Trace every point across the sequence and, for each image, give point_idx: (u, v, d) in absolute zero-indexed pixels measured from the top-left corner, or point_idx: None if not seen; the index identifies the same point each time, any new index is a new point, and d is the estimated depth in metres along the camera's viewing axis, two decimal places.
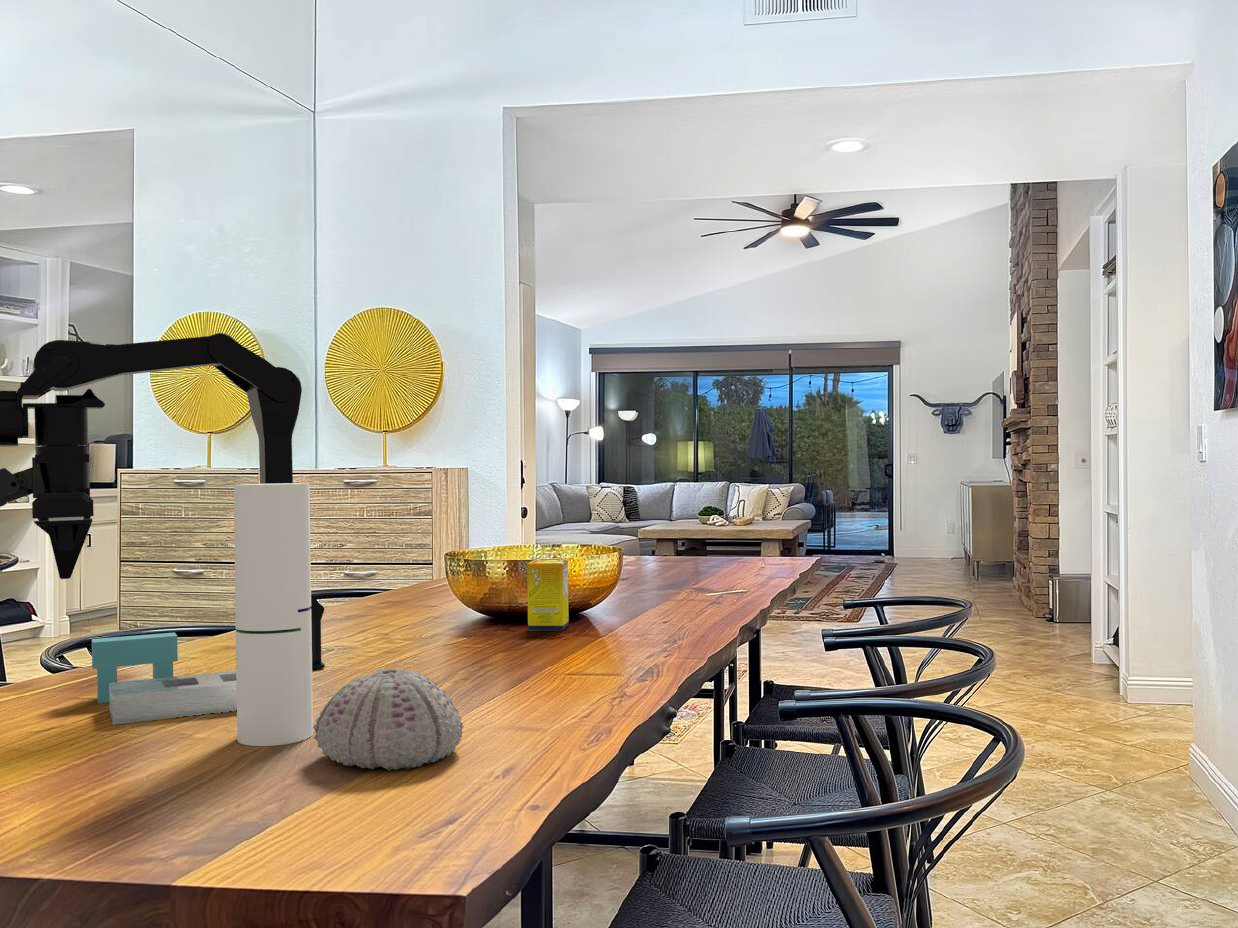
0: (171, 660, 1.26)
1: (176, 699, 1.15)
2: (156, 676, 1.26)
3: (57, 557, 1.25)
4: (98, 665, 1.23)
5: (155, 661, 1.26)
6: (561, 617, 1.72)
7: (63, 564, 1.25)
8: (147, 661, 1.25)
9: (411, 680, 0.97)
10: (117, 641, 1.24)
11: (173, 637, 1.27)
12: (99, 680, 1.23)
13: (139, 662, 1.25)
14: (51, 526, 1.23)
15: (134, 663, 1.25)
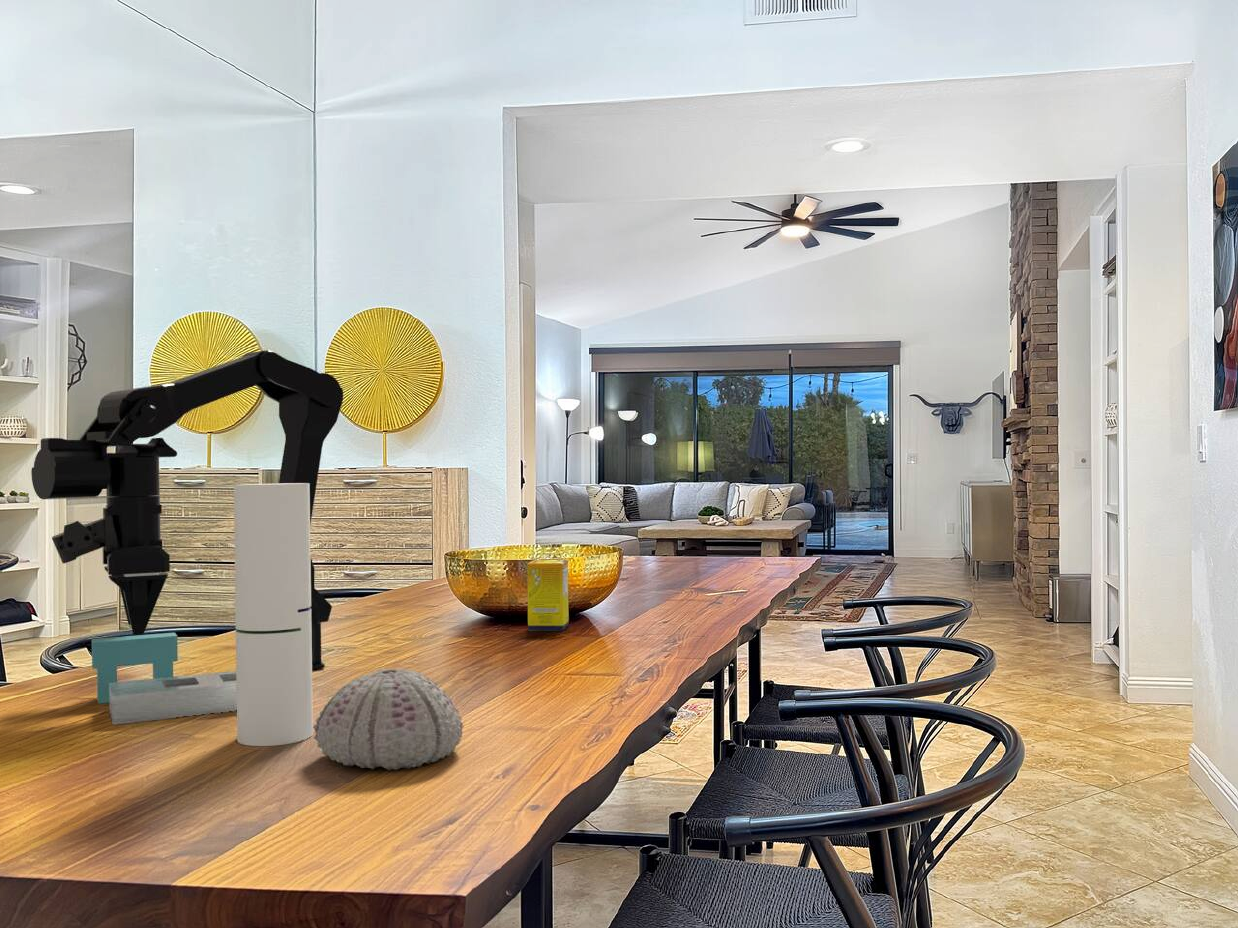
0: (171, 660, 1.26)
1: (176, 699, 1.15)
2: (156, 676, 1.26)
3: (130, 612, 1.21)
4: (98, 665, 1.23)
5: (155, 661, 1.26)
6: (561, 617, 1.72)
7: (137, 620, 1.21)
8: (147, 661, 1.25)
9: (411, 679, 0.97)
10: (117, 641, 1.24)
11: (173, 637, 1.27)
12: (99, 680, 1.23)
13: (139, 662, 1.25)
14: (126, 581, 1.20)
15: (134, 663, 1.25)
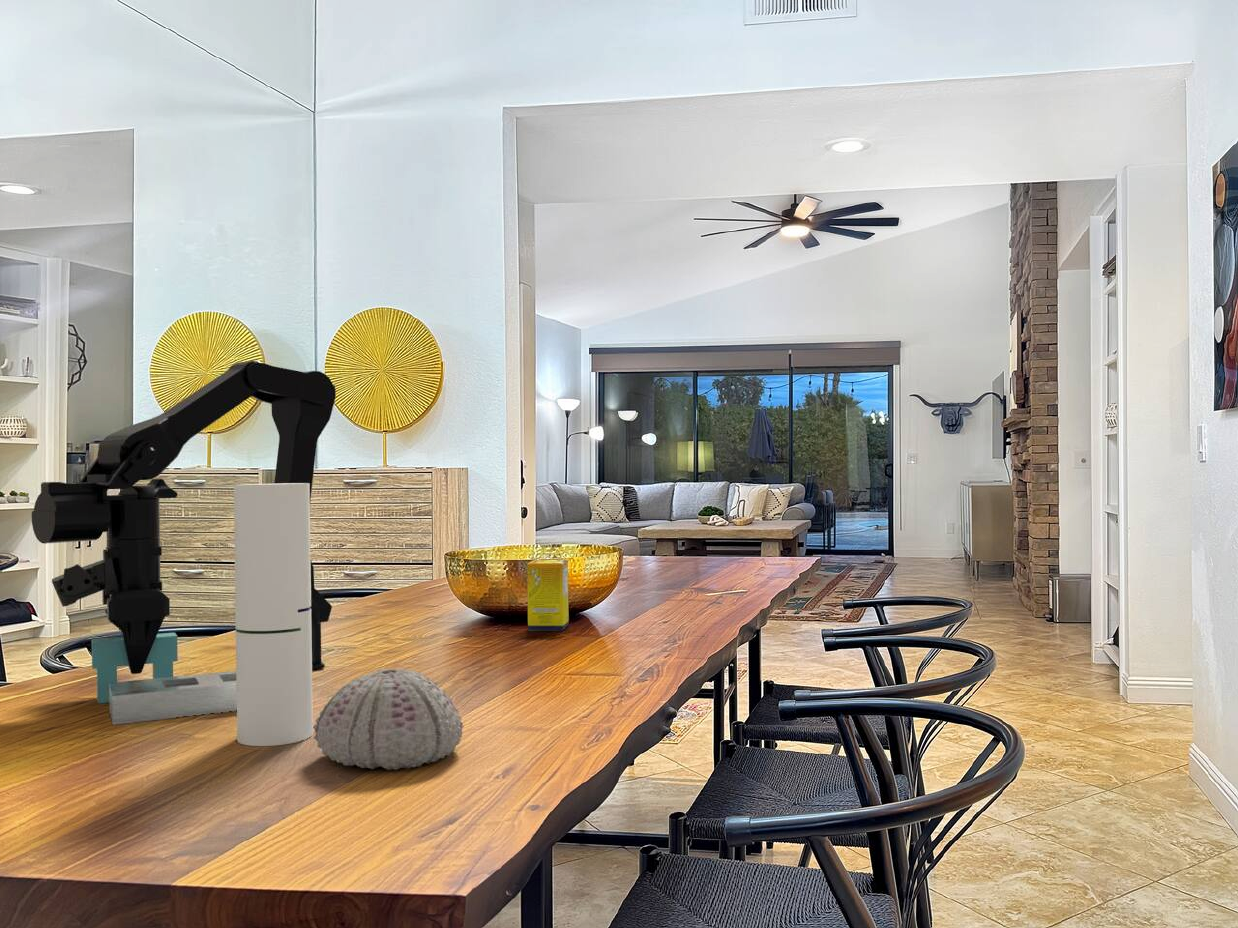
0: (171, 660, 1.26)
1: (176, 699, 1.15)
2: (156, 676, 1.26)
3: (129, 652, 1.23)
4: (98, 665, 1.23)
5: (155, 661, 1.26)
6: (561, 617, 1.72)
7: (135, 659, 1.24)
8: (147, 661, 1.25)
9: (411, 680, 0.97)
10: (117, 641, 1.24)
11: (173, 637, 1.27)
12: (99, 680, 1.23)
13: None
14: (124, 622, 1.22)
15: None
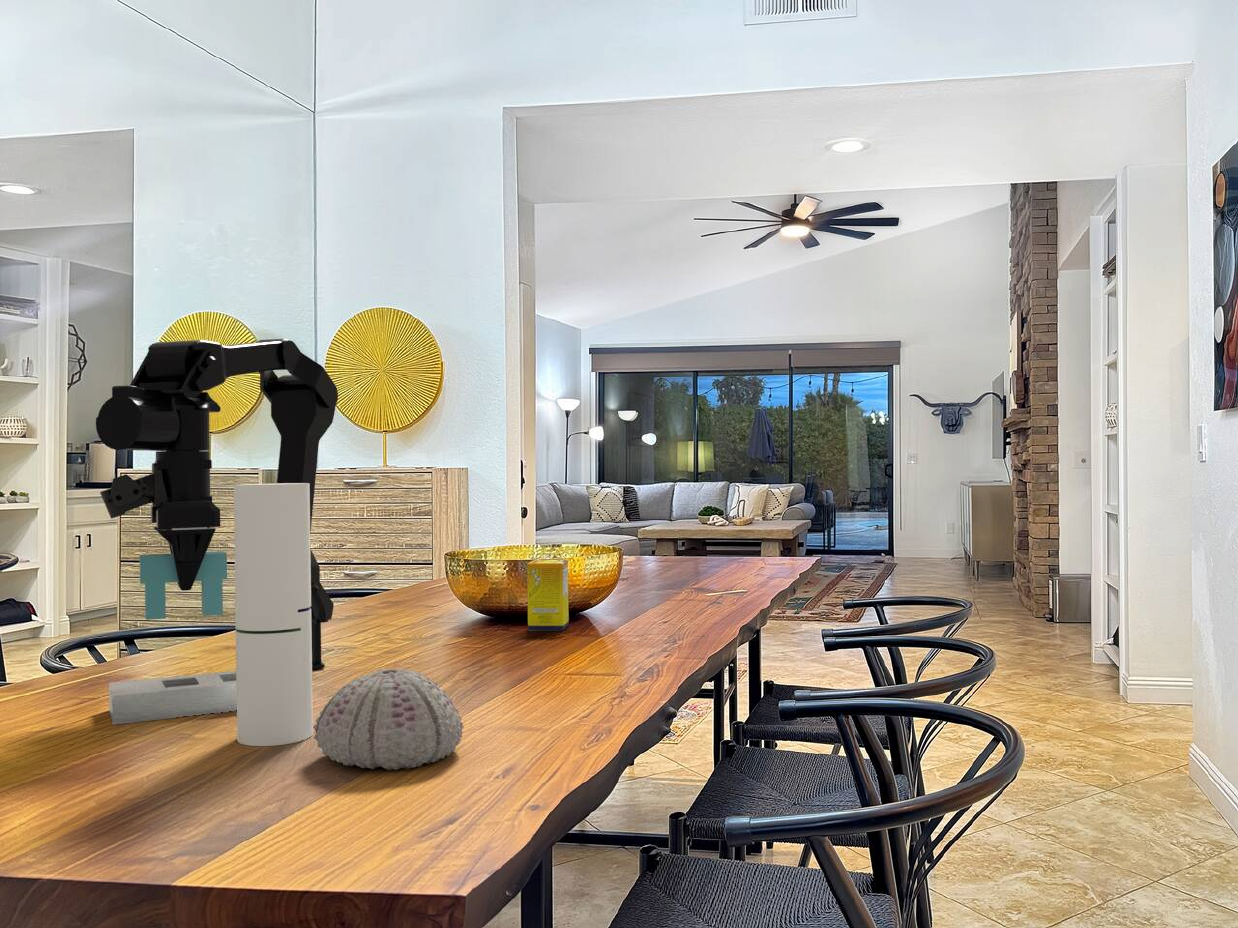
0: (220, 578, 1.22)
1: (176, 699, 1.15)
2: (205, 594, 1.21)
3: (178, 567, 1.19)
4: (146, 580, 1.19)
5: (204, 578, 1.21)
6: (561, 617, 1.72)
7: (184, 575, 1.20)
8: (196, 578, 1.21)
9: (411, 680, 0.97)
10: (165, 556, 1.20)
11: (222, 554, 1.22)
12: (147, 596, 1.19)
13: None
14: (174, 535, 1.18)
15: None
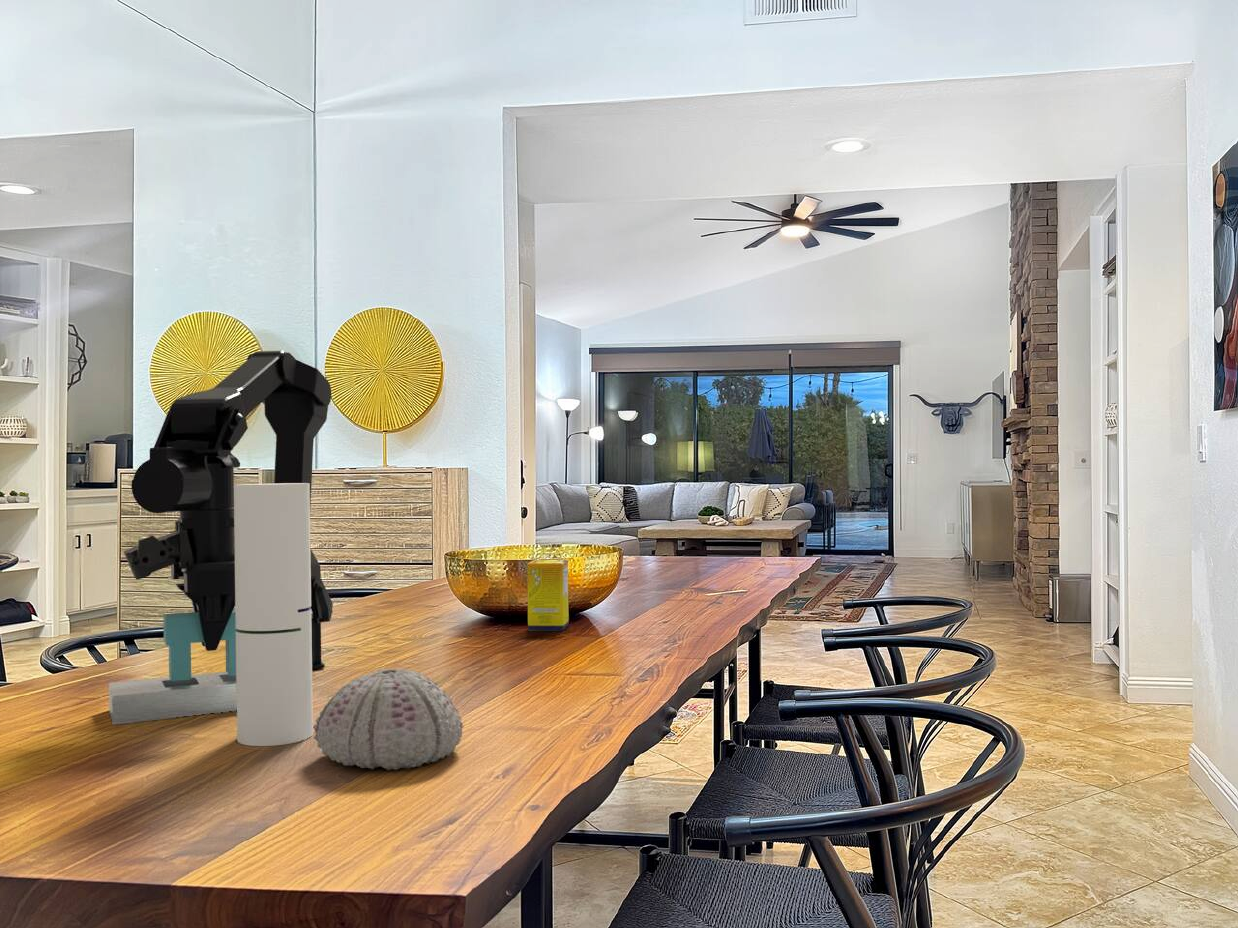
0: None
1: (176, 699, 1.15)
2: (230, 653, 1.20)
3: (204, 628, 1.18)
4: (172, 641, 1.17)
5: (229, 637, 1.20)
6: (561, 617, 1.72)
7: (210, 635, 1.18)
8: None
9: (411, 680, 0.97)
10: (191, 616, 1.18)
11: None
12: (173, 657, 1.17)
13: None
14: (200, 596, 1.17)
15: None
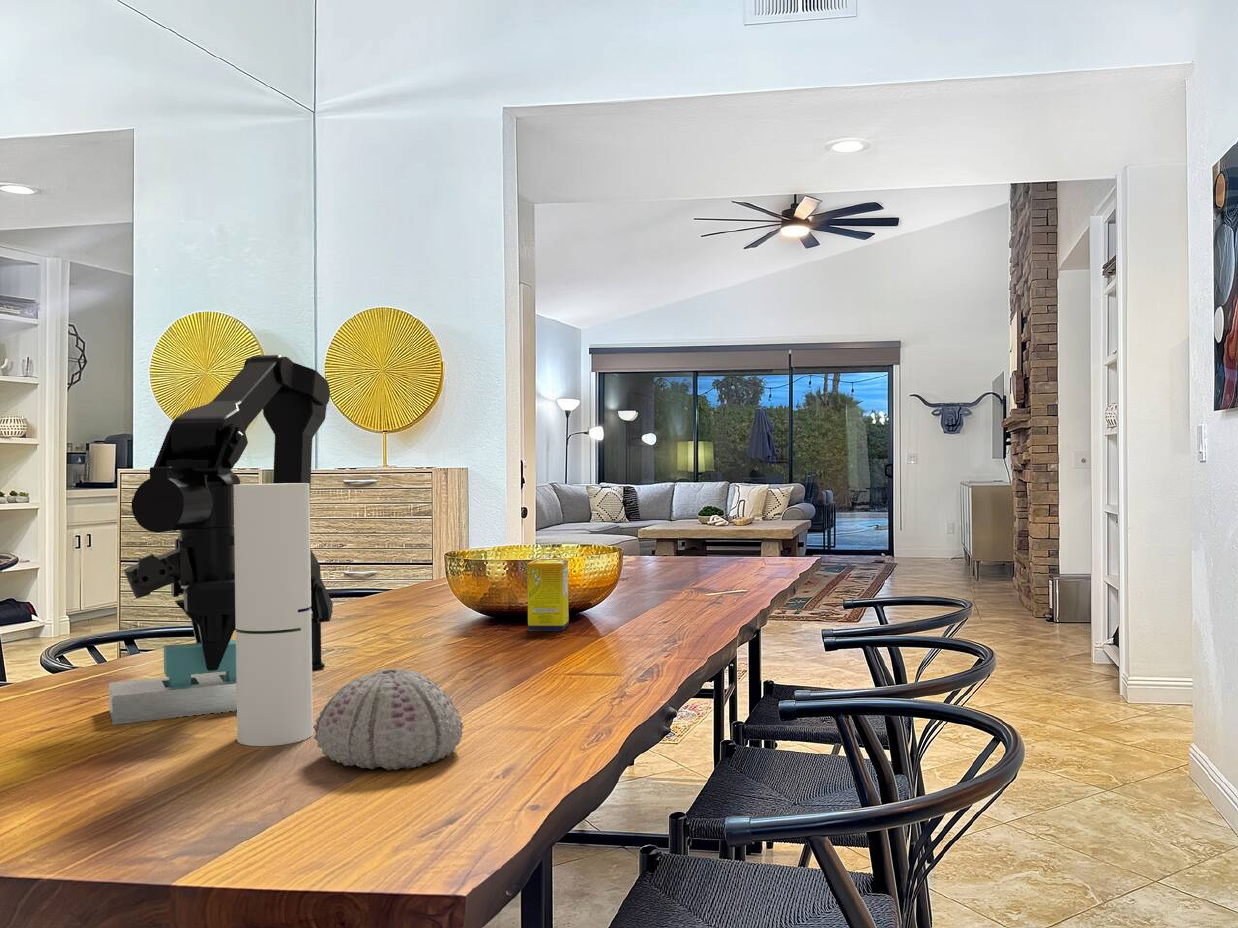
0: None
1: (176, 699, 1.15)
2: None
3: (205, 648, 1.17)
4: (172, 673, 1.17)
5: (230, 669, 1.20)
6: (561, 617, 1.72)
7: (211, 655, 1.17)
8: (222, 669, 1.20)
9: (411, 680, 0.97)
10: (191, 648, 1.18)
11: None
12: None
13: None
14: (201, 616, 1.15)
15: (208, 671, 1.19)
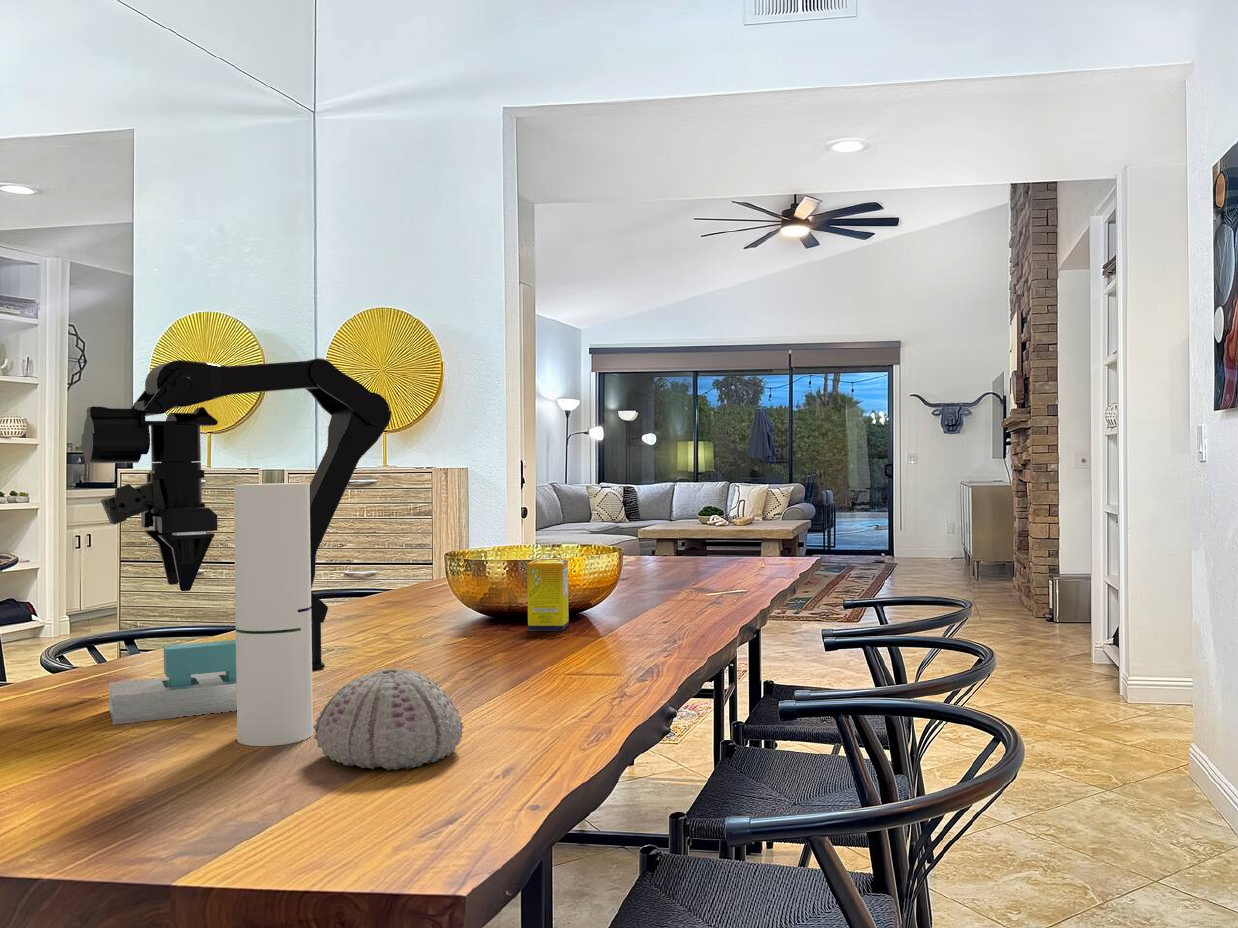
0: None
1: (176, 699, 1.15)
2: None
3: (179, 570, 1.29)
4: (172, 673, 1.17)
5: (230, 669, 1.20)
6: (561, 617, 1.72)
7: (184, 577, 1.29)
8: (222, 669, 1.20)
9: (411, 680, 0.97)
10: (191, 648, 1.18)
11: None
12: None
13: (214, 670, 1.19)
14: (176, 540, 1.28)
15: (208, 671, 1.19)
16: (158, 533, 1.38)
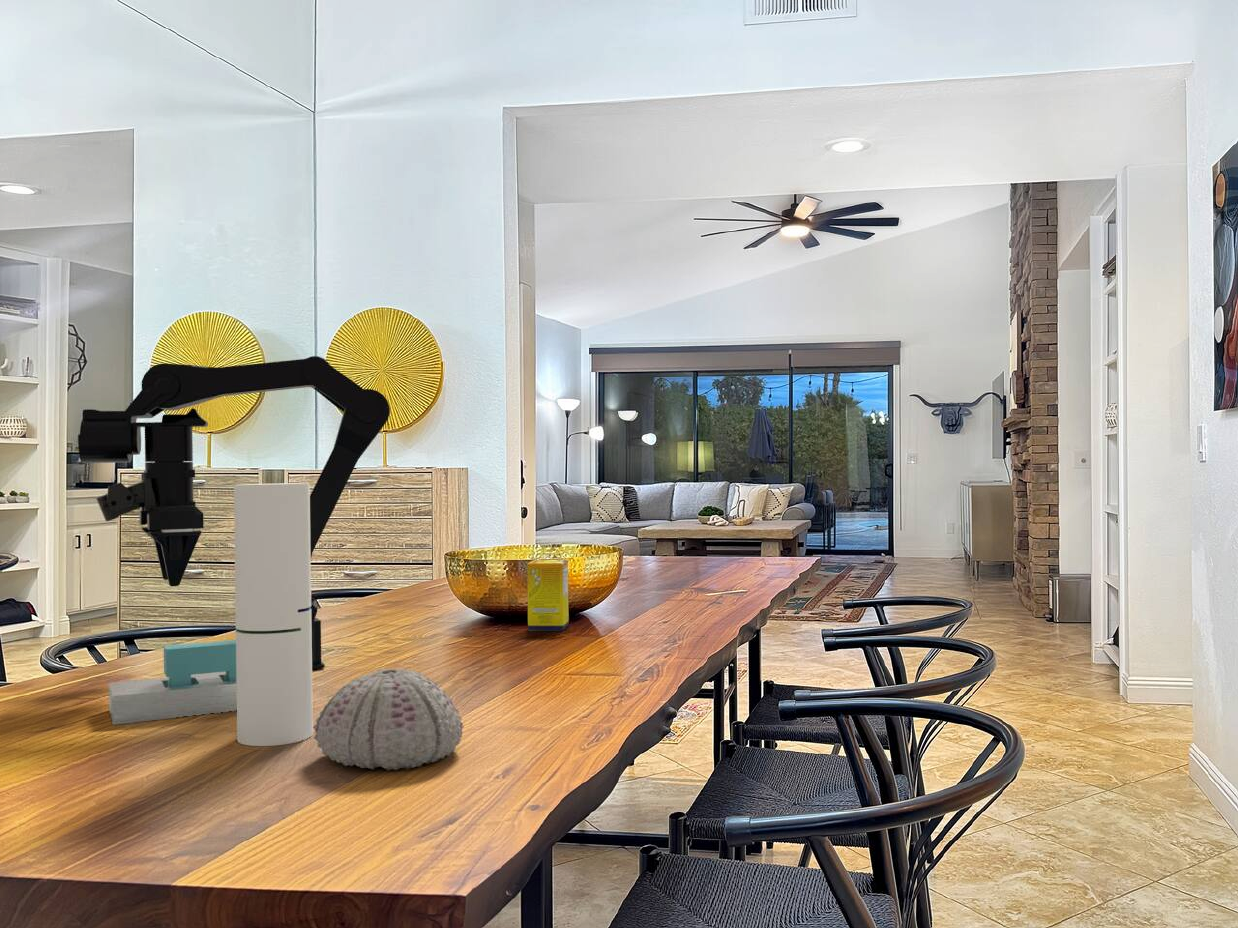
0: None
1: (176, 699, 1.15)
2: None
3: (167, 565, 1.34)
4: (172, 673, 1.17)
5: (230, 669, 1.20)
6: (561, 617, 1.72)
7: (173, 572, 1.34)
8: (222, 669, 1.20)
9: (411, 680, 0.97)
10: (191, 648, 1.18)
11: None
12: None
13: (214, 670, 1.19)
14: (164, 537, 1.32)
15: (208, 671, 1.19)
16: (154, 530, 1.43)
